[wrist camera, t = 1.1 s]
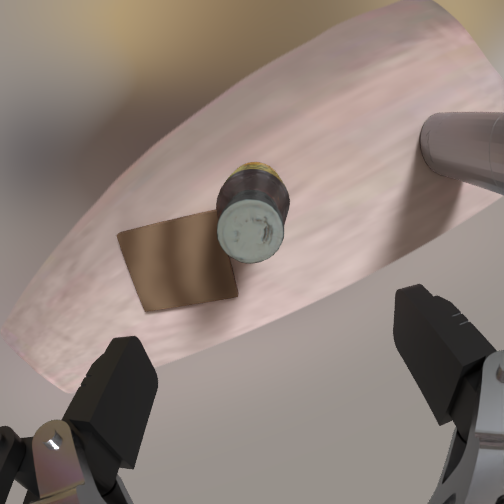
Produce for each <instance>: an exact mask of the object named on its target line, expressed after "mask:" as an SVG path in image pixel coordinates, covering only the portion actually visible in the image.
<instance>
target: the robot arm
mask: <svg viewBox="0 0 504 504" xmlns="http://www.w3.org/2000/svg"><path fill="white" fill-rule="evenodd" d="M420 143H421V150H422V154H423V157H424V159H425V161H426V163H427V165H428V166H429V167H430V168H431V169H432V170H433V171H434V172H436V173H438V174H440V175H443V176H446V177H450V178H453V179H456V180H459V181H463V182H466V183H469V184H472V185H475V186H478V187H481V188H484V189H487V190H490V191H493V192H496V193H499V194H502V195H504V113H502V112H446V113H436V114H434V115H432V116H430V117H429V118H428V119H427V120H426V122H425V124H424V125H423V128H422V131H421V138H420ZM393 335H394V342H395V345H396V348H397V350H398V352H399V353H400V355H401V357H402V358H403V360H404V362H405V364H406V365H407V367H408V369H409V370H410V372H411V374H412V376H413V378H414V379H415V381H416V383H417V384H418V386H419V388H420V390H421V392H422V394H423V395H424V397H425V399H426V401H427V403H428V405H429V407H430V409H431V410H432V412H433V414H434V416H435V418H436V420H437V422H438V424H439V426H441V425H443V424H445V423H448V422H450V421H452V420H453V422H454V424H455V425H456V428H455V430H454V432H453V437H452V440H451V444H450V448H449V451H448V455H447V458H446V461H445V465H444V467H443V470H442V474H441V476H440V479H439V482H438V485H437V487H436V490H435V492H434V494H433V495H432V497H431V499H430V500H429V502H428V504H504V350H501V351H496V349H495V348H494V347H493V346H492V345H491V344H490V343H489V342H488V341H487V339H486V338H485V337H484V336H483V335H482V334H481V333H480V332H479V331H478V330H477V329H476V327H475V326H474V325H473V324H472V323H471V322H468V319H467V318H466V317H465V316H464V315H463V314H461V312H460V311H459V310H458V309H457V308H456V307H455V306H454V305H453V304H452V303H451V302H450V301H448V300H446V299H444V298H442V297H440V296H434V297H433V296H432V294H431V293H429V291H428V290H426V289H425V288H424V287H423V285H421V284H417V285H413V286H409V287H406V288H402V289H398V290H397V291H396V295H395V311H394V327H393ZM157 388H158V378H157V374H156V371H155V369H154V367H153V365H152V363H151V361H150V359H149V357H148V355H147V354H146V352H145V350H144V348H143V345H142V343H141V342H140V340H139V339H138V338H137V337H136V336H129V337H118V338H114V339H112V341H111V342H110V344H109V346H108V347H107V349H106V351H105V353H104V354H102V355H101V356H100V357H99V358H98V359H97V360H96V361H95V362H94V363H93V364H92V365H91V367H90V369H89V371H88V372H87V374H86V377H85V378H84V379H83V381H82V383H81V387H79V388H78V390H77V392H76V394H75V396H74V398H73V400H72V401H71V403H70V405H69V407H68V409H67V411H66V413H65V414H64V416H63V418H62V420H51V421H49V422H47V423H45V424H43V425H42V426H41V427H40V428H39V429H38V430H37V431H36V433H35V435H34V437H27V438H20V437H19V436H18V435H17V434H16V433H15V432H14V431H13V430H12V429H11V428H10V427H8V426H2V427H0V504H5V502H6V499H7V497H8V494H9V491H10V489H11V486H12V483H13V481H14V479H15V480H16V481H17V482H18V483H20V484H21V485H22V486H23V487H25V488H26V489H27V490H28V491H27V493H26V496H25V499H24V502H23V504H133V501H132V500H131V498H130V496H129V494H128V492H127V490H126V488H125V486H124V483H123V481H122V479H121V478H120V477H119V475H117V473H118V469H119V467H120V468H127V469H134V467H135V463H136V460H137V456H138V452H139V449H140V445H141V442H142V439H143V435H144V432H145V428H146V425H147V421H148V418H149V415H150V412H151V408H152V405H153V402H154V399H155V395H156V392H157Z"/></svg>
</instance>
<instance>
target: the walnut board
mask: <svg viewBox="0 0 504 504" xmlns="http://www.w3.org/2000/svg"><path fill="white" fill-rule="evenodd" d="M218 220H219V219H218V218H217V209H216V210H211V211H207V212H202V213H198V214H193V215H189V216H185V217H180V218H176V219H172V220H168V221H163V222H159V223H155V224H151V225H147V226H143V227H139V228H135V229H131V230H127V231H123V232H120V233H119V234H117V238H118V241H119V244H120V247H121V250H122V253H123V256H124V259H125V261H126V264H127V267H128V270H129V272H130V275H131V278H132V280H133V283H134V285H135V288H136V291H137V293H138V296H139V298H140V301H141V303H142V305H143V308H144V310H145V312H146V311H153V310H160V309H167V308H173V307H180V306H186V305H192V304H199V303H205V302H211V301H217V300H223V299H228V298H234V297H238V289H237V285H236V282H235V278H234V274H233V270H232V266H231V262H230V258H229V255H227V254H226V253H225V251H224V250H223V249H222V247H221V246H220V243H219V241H218V239H217V224H218Z"/></svg>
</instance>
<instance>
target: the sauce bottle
mask: <svg viewBox="0 0 504 504" xmlns="http://www.w3.org/2000/svg"><path fill="white" fill-rule="evenodd" d="M289 205H290V199H289V194H288V191H287V189H286V187H285V185H284V184H283V182H282V180H281V179H280V177H279V176H278V174H277V173H276V172H275V171H274V170H273V169H272V168H271V167H270V166H268V165H266V164H263V163H260V162H251V163H247V164H244V165H242V166H240V167H239V168H238V169H237V170H236V171H235V172H234V173H232V174H231V176H230V177H229V178H228V179H227V180H226V182H225V183H224V185H223V186H222V188H221V189H220V192H219V195H218V198H217V203H216V209H217V218H218V219H219V220H218V224H217V239H218V241H219V243H220V246H221V247H222V249H223V250H224V251H225V253H226V254H227V255H229V256H230V257H232V258H234V259H236V260H237V261H239V262H243V263H257V262H261V261H264V260H266V259H268V258H270V257H271V256H273V255H274V254H275V252H276V251H277V250H278V249H279V247H280V245H281V243H282V241H283V238H284V224H285V221H286V217H287V213H288V210H289Z"/></svg>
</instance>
